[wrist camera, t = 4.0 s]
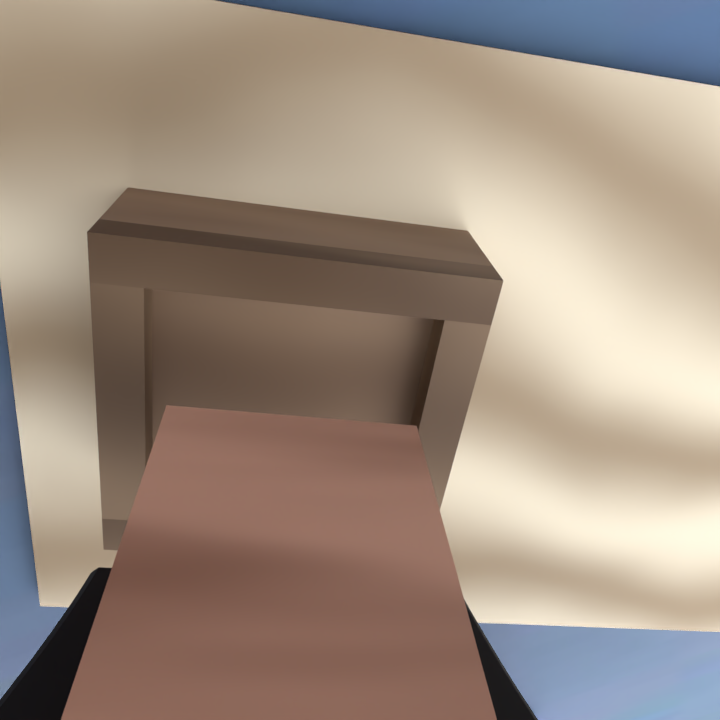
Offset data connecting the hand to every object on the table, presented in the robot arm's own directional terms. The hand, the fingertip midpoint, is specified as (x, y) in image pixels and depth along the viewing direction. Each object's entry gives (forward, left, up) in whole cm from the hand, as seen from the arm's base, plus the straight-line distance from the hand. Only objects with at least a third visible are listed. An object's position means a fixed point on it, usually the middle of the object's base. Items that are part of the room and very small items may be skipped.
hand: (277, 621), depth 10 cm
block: (0, 0, -2) cm, 2 cm away
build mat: (-1, -6, -9) cm, 11 cm away
